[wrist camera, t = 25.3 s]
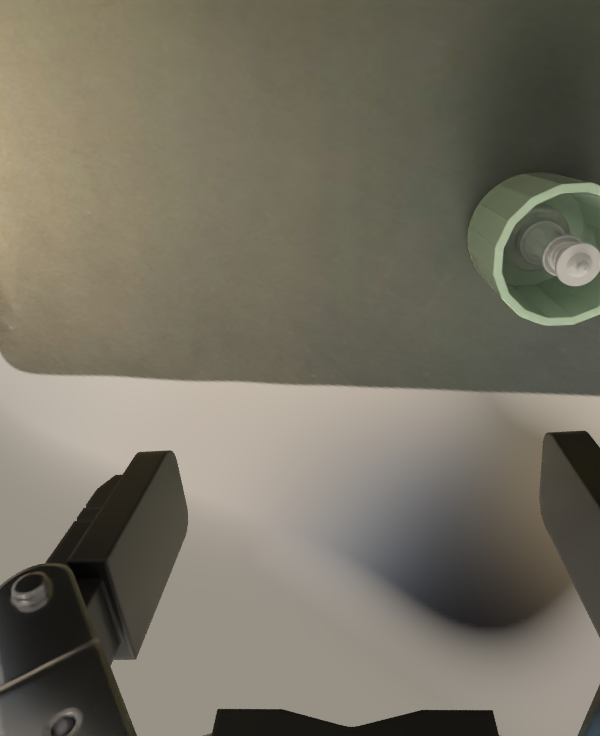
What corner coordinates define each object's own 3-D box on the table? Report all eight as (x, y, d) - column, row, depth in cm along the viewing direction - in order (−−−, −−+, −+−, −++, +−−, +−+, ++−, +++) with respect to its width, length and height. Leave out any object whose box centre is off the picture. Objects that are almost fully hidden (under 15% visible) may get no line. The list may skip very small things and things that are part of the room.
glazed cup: (450, 205, 39) (474, 223, 31) (568, 150, 37) (623, 156, 29) (489, 307, 41) (519, 346, 34) (600, 261, 39) (658, 291, 32)
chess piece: (577, 225, 38) (649, 256, 29) (532, 279, 40) (587, 324, 30) (525, 188, 37) (582, 208, 28) (482, 245, 39) (523, 281, 30)
